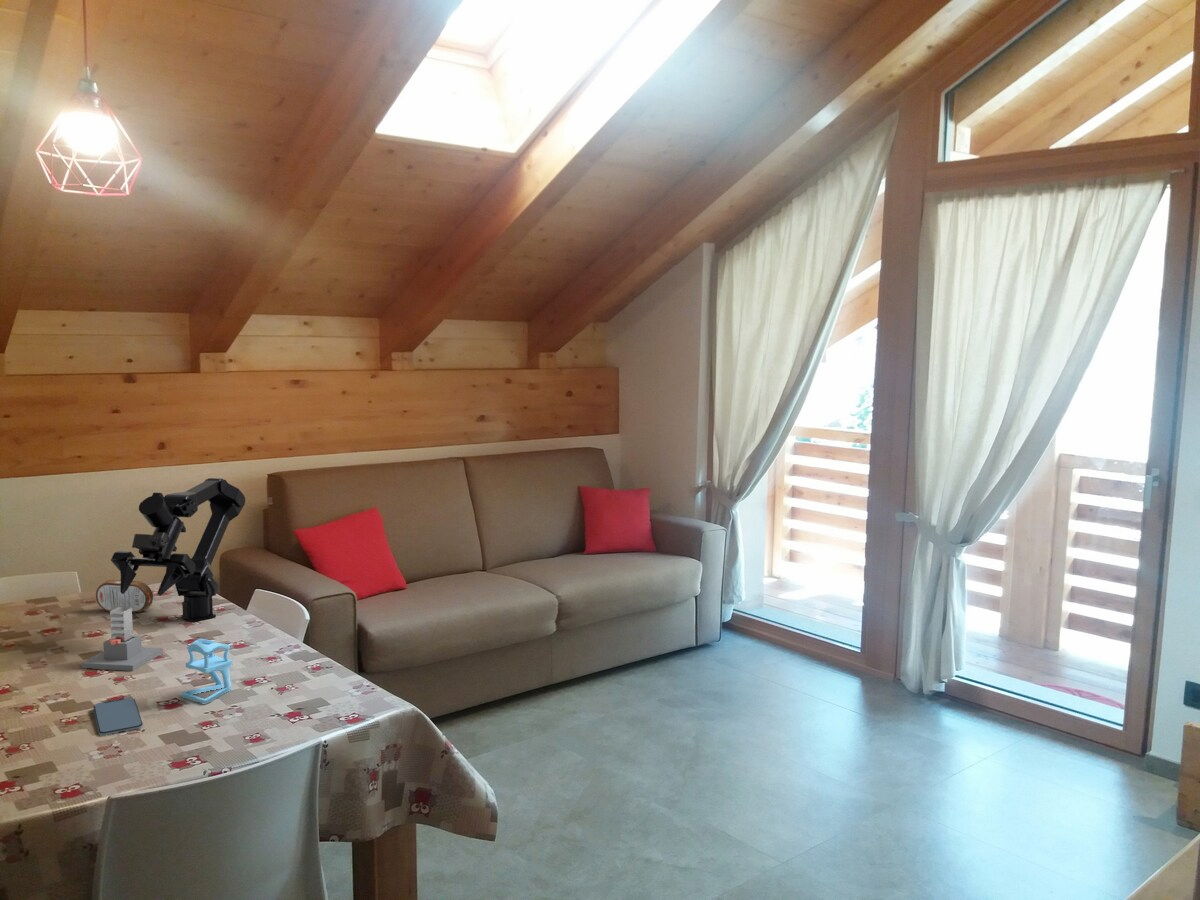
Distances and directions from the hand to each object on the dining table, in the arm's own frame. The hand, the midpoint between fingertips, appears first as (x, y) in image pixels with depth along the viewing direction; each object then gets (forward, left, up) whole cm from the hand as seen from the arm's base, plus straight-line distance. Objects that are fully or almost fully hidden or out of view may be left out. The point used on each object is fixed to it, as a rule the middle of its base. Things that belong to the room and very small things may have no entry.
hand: (140, 593), depth 221 cm
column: (+7, +4, -12) cm, 14 cm away
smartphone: (+23, +36, -14) cm, 45 cm away
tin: (-11, -34, -14) cm, 38 cm away
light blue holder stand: (+5, +38, -14) cm, 41 cm away
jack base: (+7, +4, -13) cm, 16 cm away
